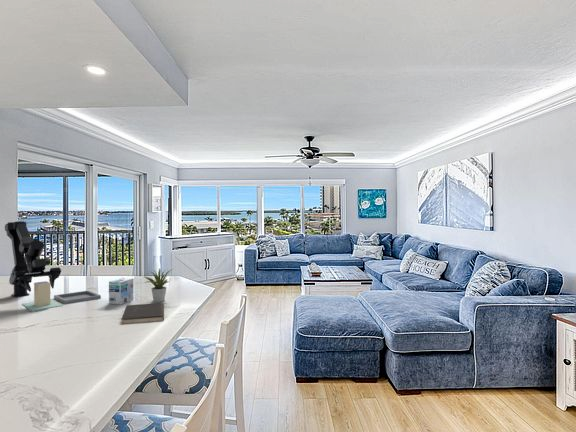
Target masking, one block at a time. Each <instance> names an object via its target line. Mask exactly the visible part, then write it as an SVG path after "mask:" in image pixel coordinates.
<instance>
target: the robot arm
mask: <svg viewBox="0 0 576 432" xmlns="http://www.w3.org/2000/svg"><path fill="white" fill-rule="evenodd" d="M4 231H5V232H6V236H7V237H8V238H10V240H11V246H12V254H13V262H14V266H13V268H12V270H11V272H10V276H9V281H8V283H9V284H10V285H11V286H13V293H12V294H11V296H13V298H16V297H24V296H29V295H30V292H31V291H32V287H31V285H30V283H32V281H33V280H32V279H33V278H40V277H48V282H50V288H51V289H52V290H53V289H54V288H55V281H56V280H57V279H58V278H60V276H61V273H62V269H61V267H50V268H49V270H48V271H47V270H46V266H49V265H50V264H51V258H50V257H49V256H48V257H44V258H41V257H40V256H41V255H42V253H43V250H44V248H45V243H44V242H42V241H41V240H39V239H38V238H33V237H32V236H31V233H30V232H29V229H28V227H27V222H26V221H24V220H20V221H19V220H18V221H11V222H10V221H9V222H7V223H5V224H4ZM28 292H29V293H28Z"/></svg>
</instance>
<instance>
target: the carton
mask: <svg viewBox="0 0 576 432" xmlns="http://www.w3.org/2000/svg"><path fill="white" fill-rule="evenodd" d="M33 285H34V286H33V291H34V292H33V302H34V305H36V306H44V305H50V300H51V284H50V281H45V280H44V281H36V282H34V283H33Z"/></svg>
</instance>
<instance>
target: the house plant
mask: <svg viewBox="0 0 576 432" xmlns="http://www.w3.org/2000/svg"><path fill="white" fill-rule="evenodd" d="M173 270H175V269H170V270H168V271H167V269H165V270H164V271H162V270H161V268H158V273H157V271H156V270H154V269H152V271H153V272H152V271H150V270H148V272H150V273H148V272H147V274H149V275H150V274H152V277H153V278H151V277H148V276H144V278H145V279H146V280H147V281H146V283H151V284H152V285H153V286H154V287H151V294H152V295H151V296H152V300H153V302H154V303H161V302H164V301H165V299H166V294H167V293H166V292H167V287H166V286H164V285H165V284H167V283H169V281H168V279H167V277H168V276H169V274H170V273H171V271H173ZM166 271H167V272H166ZM165 272H166V273H165ZM160 301H161V302H160Z"/></svg>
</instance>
